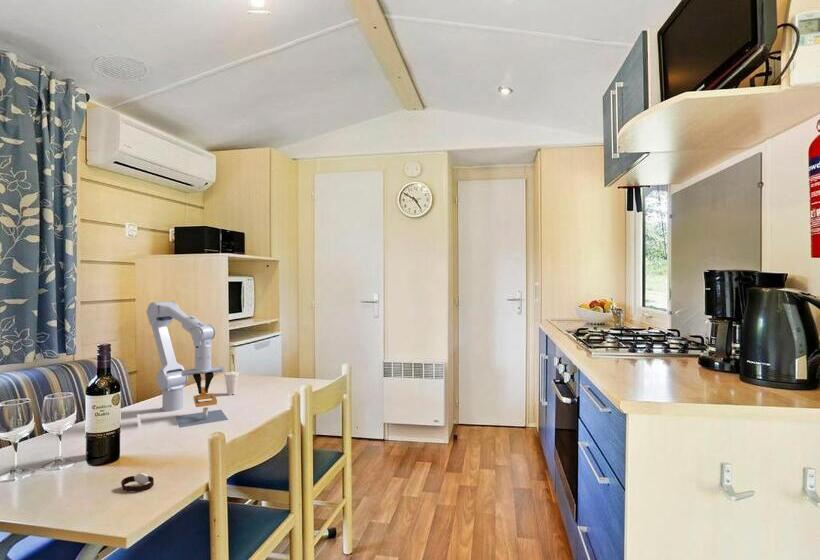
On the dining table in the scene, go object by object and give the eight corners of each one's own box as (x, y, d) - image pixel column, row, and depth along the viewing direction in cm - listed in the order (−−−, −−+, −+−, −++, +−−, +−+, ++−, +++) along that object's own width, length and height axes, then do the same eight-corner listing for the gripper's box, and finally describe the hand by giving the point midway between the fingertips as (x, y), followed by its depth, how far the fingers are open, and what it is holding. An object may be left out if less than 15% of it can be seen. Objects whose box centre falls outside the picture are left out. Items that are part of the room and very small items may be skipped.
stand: (175, 418, 164) (175, 405, 164) (221, 412, 173) (221, 399, 173) (179, 430, 151) (179, 416, 151) (228, 422, 160) (228, 408, 160)
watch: (158, 484, 112) (158, 470, 112) (146, 493, 107) (146, 478, 107) (128, 484, 112) (128, 470, 112) (115, 493, 107) (115, 478, 107)
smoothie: (233, 396, 196) (233, 365, 196) (221, 395, 197) (221, 364, 197) (242, 392, 202) (242, 362, 202) (229, 392, 204) (229, 362, 204)
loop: (216, 404, 161) (217, 397, 160) (195, 407, 157) (196, 400, 156) (211, 392, 170) (211, 385, 170) (191, 394, 167) (192, 388, 166)
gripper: (183, 360, 159) (182, 398, 159) (225, 357, 167) (225, 392, 167) (181, 357, 165) (180, 393, 165) (222, 354, 172) (222, 388, 172)
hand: (203, 393), depth 166 cm, fingers closed on loop, 2 cm apart
